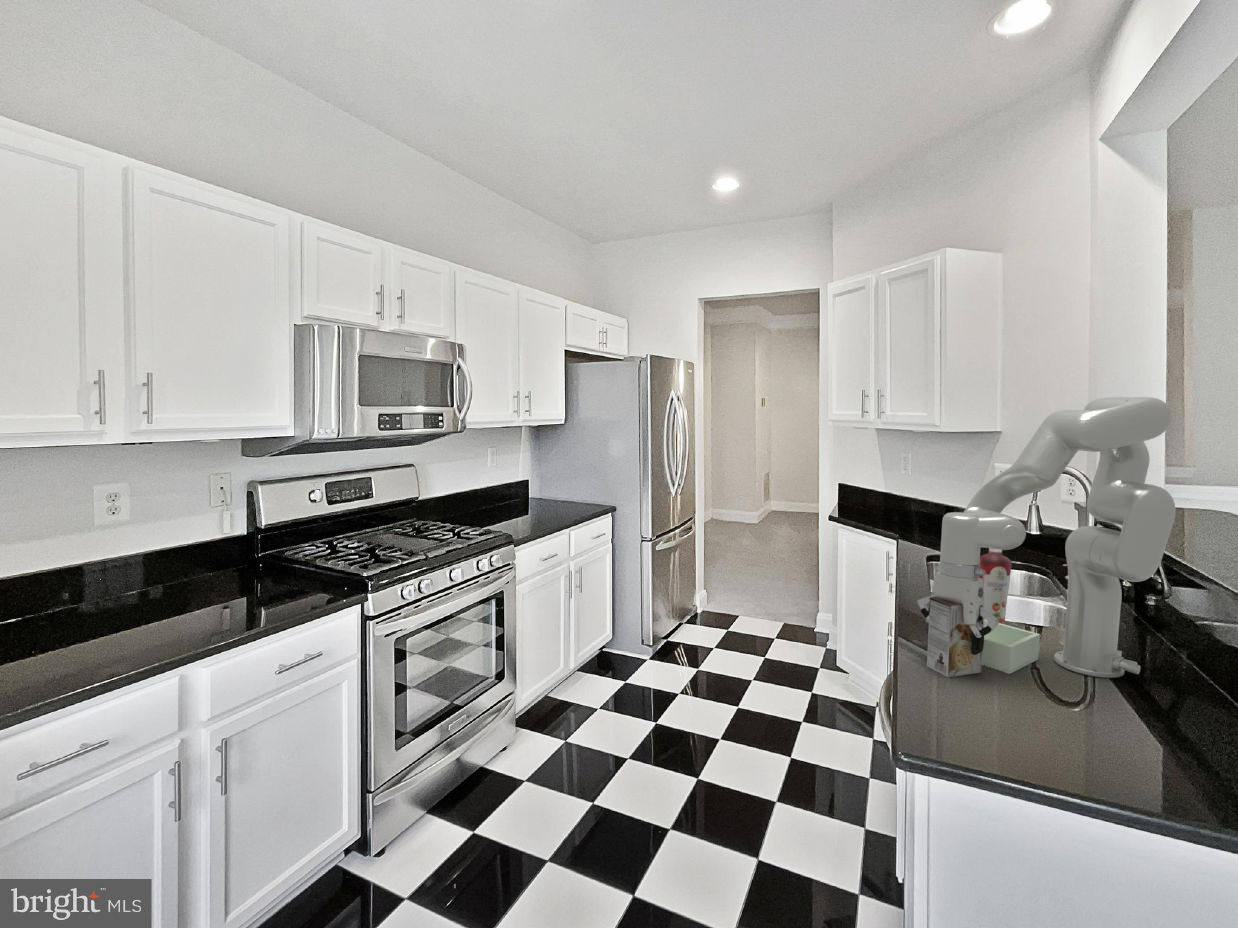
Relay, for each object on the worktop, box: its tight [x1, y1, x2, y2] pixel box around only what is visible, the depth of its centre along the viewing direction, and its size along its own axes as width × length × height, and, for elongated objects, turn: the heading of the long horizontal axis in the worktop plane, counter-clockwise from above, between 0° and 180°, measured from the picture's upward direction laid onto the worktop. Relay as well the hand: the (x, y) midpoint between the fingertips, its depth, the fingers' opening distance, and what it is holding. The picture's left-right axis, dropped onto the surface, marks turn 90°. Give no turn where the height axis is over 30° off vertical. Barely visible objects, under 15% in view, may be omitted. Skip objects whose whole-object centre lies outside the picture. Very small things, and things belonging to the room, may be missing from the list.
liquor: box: [978, 548, 1013, 625], centre depth 159 cm, size 7×7×28 cm
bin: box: [981, 619, 1041, 675], centre depth 146 cm, size 18×14×6 cm
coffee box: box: [926, 597, 984, 678], centre depth 136 cm, size 9×6×16 cm
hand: (954, 645), depth 137 cm, fingers open, 9 cm apart
